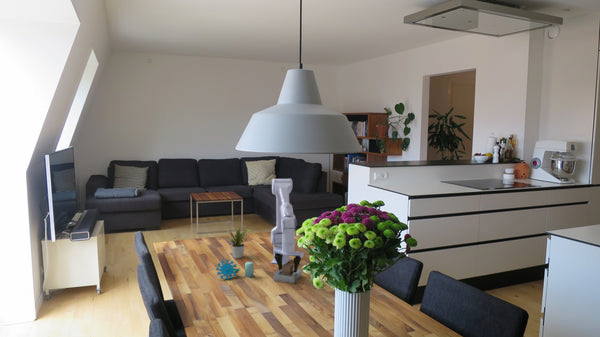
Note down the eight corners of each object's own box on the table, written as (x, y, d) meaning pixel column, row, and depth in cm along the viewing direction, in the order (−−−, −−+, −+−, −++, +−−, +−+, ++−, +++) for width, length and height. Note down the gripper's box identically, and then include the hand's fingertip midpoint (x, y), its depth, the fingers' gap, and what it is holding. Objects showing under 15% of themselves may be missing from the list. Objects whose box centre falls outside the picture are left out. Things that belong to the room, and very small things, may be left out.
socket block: (282, 273, 210) (282, 267, 210) (301, 275, 207) (301, 269, 206) (273, 280, 201) (273, 273, 200) (294, 283, 197) (294, 276, 197)
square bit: (285, 276, 206) (285, 263, 205) (293, 277, 204) (293, 264, 204) (281, 279, 202) (281, 265, 201) (289, 280, 201) (290, 266, 200)
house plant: (257, 258, 231) (257, 228, 229) (234, 263, 223) (234, 231, 222) (245, 251, 243) (245, 222, 241) (222, 255, 235) (222, 225, 233)
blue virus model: (215, 277, 198) (217, 257, 204) (214, 283, 203) (215, 263, 209) (239, 279, 201) (240, 259, 207) (237, 284, 205) (238, 265, 211)
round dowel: (247, 273, 209) (247, 261, 208) (255, 274, 207) (255, 262, 206) (243, 276, 205) (243, 264, 204) (251, 277, 203) (251, 265, 203)
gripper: (270, 242, 200) (270, 271, 202) (300, 246, 195) (299, 275, 197) (276, 238, 207) (276, 266, 209) (305, 242, 202) (304, 270, 204)
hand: (287, 270), depth 203 cm, fingers open, 7 cm apart
